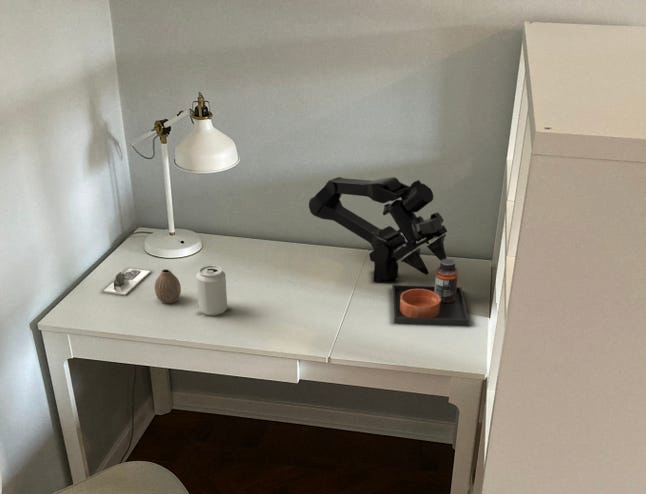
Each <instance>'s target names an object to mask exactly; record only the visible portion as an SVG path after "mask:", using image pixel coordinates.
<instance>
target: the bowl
mask: <svg viewBox="0 0 646 494" xmlns="http://www.w3.org/2000/svg"><path fill="white" fill-rule="evenodd" d="M440 305H441V297H440V296H439V295H438V294H437V293H435V292H433V291H430V290H426V289H410V290H407V291H405V292H403V293H402V294H401V296H400V311H401V313H402V314H403V315H405V316H407V317H416V318H434V317H436V316H437V315H438V314H439V312H440Z"/></svg>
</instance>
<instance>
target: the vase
mask: <svg viewBox="0 0 646 494" xmlns="http://www.w3.org/2000/svg"><path fill="white" fill-rule="evenodd" d="M181 285H182V284H181V283H180V280H179V278H178V277H177V276H176V275H175V274H174V273H173V272H172V270H170V268H165V269H162V270H161V272H160V274H159V275H158V277H157V278H156V280H155V282H154V294H155V296H156V297H157V299H158V300H159V301H160V302H161V303H163V304H173V303H175V302H177V301H178V300H179V298H180V296H181V293H182V292H181V291H182V286H181Z"/></svg>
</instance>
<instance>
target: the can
mask: <svg viewBox="0 0 646 494" xmlns="http://www.w3.org/2000/svg"><path fill="white" fill-rule="evenodd" d="M226 278H227V277H226V273H225V272H224V270H223V267H221V266H219V265H216V264H215V265H214V264H209V265H203V266H202V267H199V269H198V273H197V274H196V289H197V297H198V298H197V300H198V309H199V312H201V313H203V315H206V316H211V317H212V316H213V317H214V316H219V315H222V314H223V313H224V312H226V311H227V309H228V297H227V295H228V293H227V279H226Z"/></svg>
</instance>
